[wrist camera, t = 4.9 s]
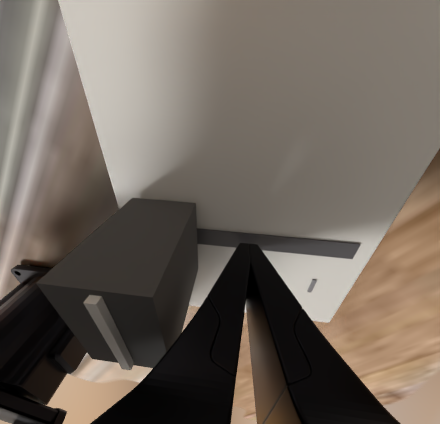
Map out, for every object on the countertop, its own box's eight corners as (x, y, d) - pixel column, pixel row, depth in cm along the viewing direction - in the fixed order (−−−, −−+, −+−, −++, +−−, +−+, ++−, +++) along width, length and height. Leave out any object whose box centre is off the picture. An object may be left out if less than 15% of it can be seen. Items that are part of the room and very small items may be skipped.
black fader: (147, 263, 10) (88, 365, 6) (132, 197, 8) (27, 290, 4) (198, 268, 10) (169, 378, 6) (196, 203, 8) (148, 306, 4)
